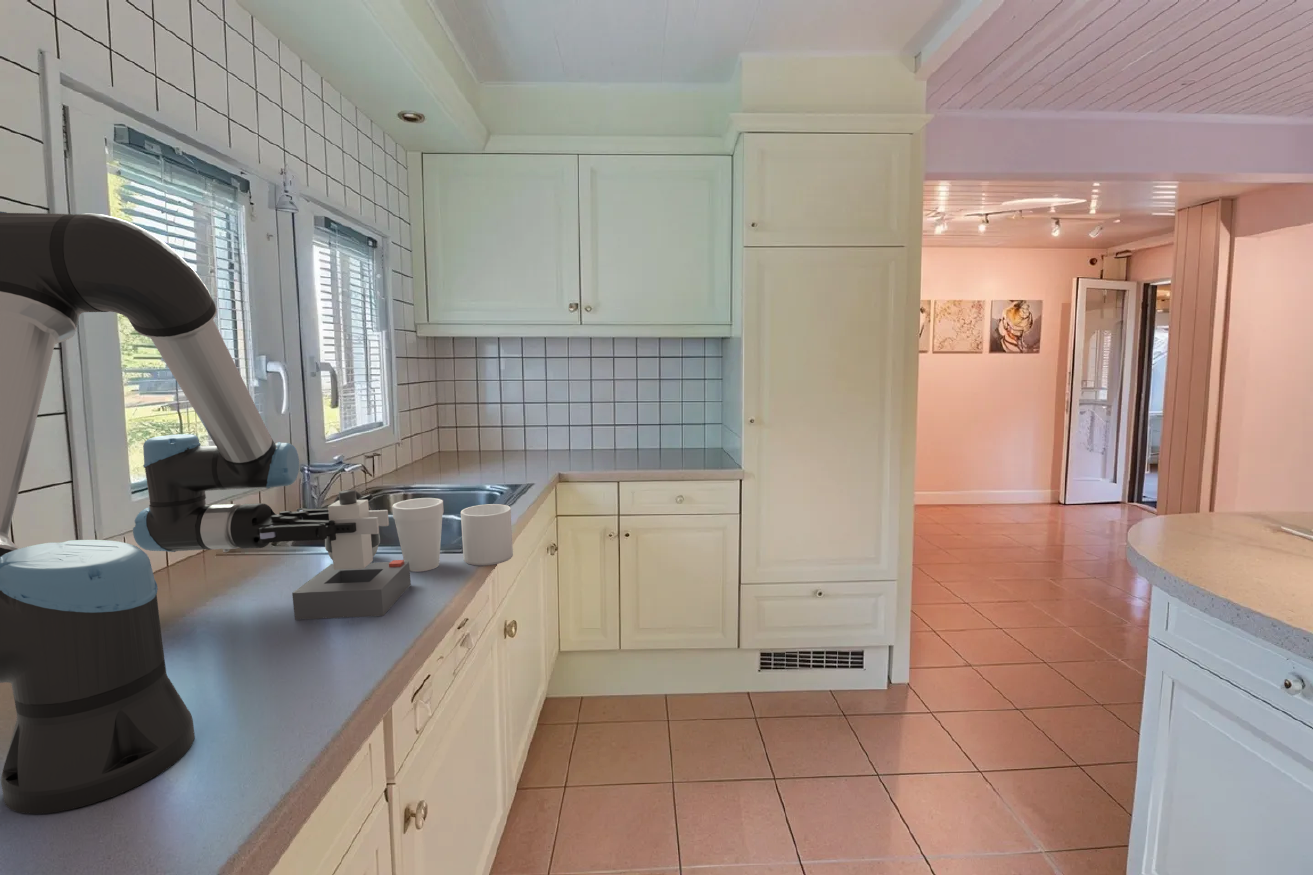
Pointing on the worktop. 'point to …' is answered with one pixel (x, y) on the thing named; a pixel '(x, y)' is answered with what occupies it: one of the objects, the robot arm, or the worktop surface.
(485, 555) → the mug
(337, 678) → the worktop surface
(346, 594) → the socket
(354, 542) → the plug
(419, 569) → the foam cup
